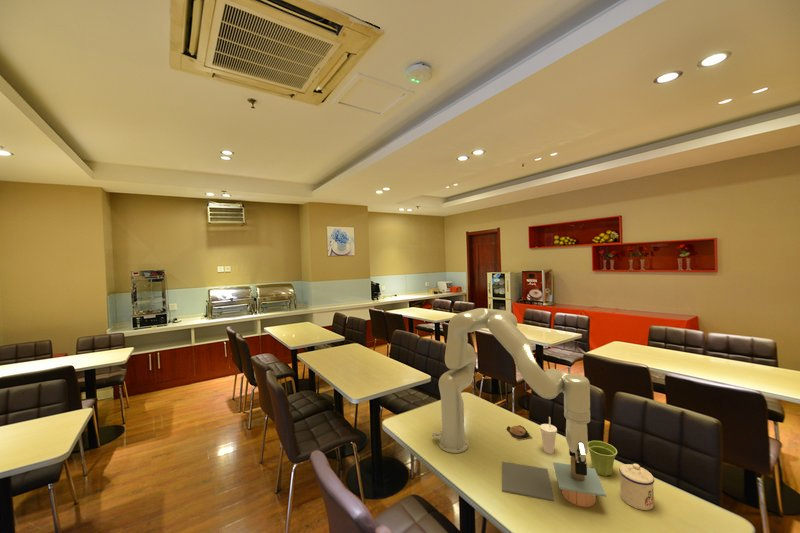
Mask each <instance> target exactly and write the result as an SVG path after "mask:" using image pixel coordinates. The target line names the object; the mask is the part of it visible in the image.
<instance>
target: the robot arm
mask: <svg viewBox="0 0 800 533" xmlns="http://www.w3.org/2000/svg"><path fill="white" fill-rule="evenodd" d="M482 329H488V330H489V332H490V333H491V335H493V337H495V339H496V340H497V341H498V342H499V343H500V344H501V346H502V347H503V348H504V349H505V350H506V351H507V352H508V353H509V354H510V355H511V357H512V358H513V361H514V364H515V365H516V368H517V370H518V372H519V374H520V376H521V377H522V379H523V380H524V381H525V383H527V385H528V386H529V387H530V388H531V390H533V392H535V394H537V395H538V396H539V397H541V398H542V399H545V400H552V399H556V397H557V396H559V394H560V393H563V411H564V412H563V416H564V418H565V419H566V422H565V441H566V444H567V446H568V448H569V449H568V451H569V452H568V454H569V456H570V457H571V456H576V461H575V473H576V474H579V475H585V476H586V475H587V467H588V463H587V457H586V455H588V454H589V449H588V442H589V440H588V437H589V435H588V424H589V423H591V395H590V394H591V388H590V386H591V383H590V380H589V379H588V377H586V376H584V375H581V374H575V373H569V372H566V371H563V370H560V369H557V368H548V369H547V370H545V371H544V370H543V369H542V368H541V366H540V365H539V364H538V362H537V361H536V358H535V357H534V354H533V346H532V345H533V344H532V342H531V341H530V339H529V338H528V337H527V336H526V335H525V334H524V332H522V331H521V330H520V329H519V328H518V318H517V317H516V315H515V314H513V312H512V311H509V310H504V309H496V308H495V309H493V308H485V307H479V308H475V309H470V310H466V311H463V312H459V313H457V314H454V315H453V316H452V317H451V318H450V320H449V322H448V325H447V339H446V344H445V345H446V346H445V354H444V363H445V366H446V367H447V368H448V369H449V370H448V371H446V372H444V373H443V374H442V375H440V377H439V380H438V389H439V394H440V404H441V406H440V407H441V431H434V430H433V431H432V433H431V434H432V437H433V439H434V440H438V447H439V448H440V449H441V450H442V451H445V452H447V453H451V454H460V453H463V452H466V451H467V450H468V448H469V440H468V439H467V438H465V437H466V436H465V403H464V399H463V396H462V392H463V391H464V390H465V389H466V388H468V387H469V386H471V384H472V382H473V379H474V375H475V369H476V368H475V367H476V360H477V356H476V355H477V354H476V351H475V348H474V347H473V346H472V345H471V344H470V343H468V342H469V337H468V333H473V332H476V331H479V330H482ZM578 456H579V458H578Z"/></svg>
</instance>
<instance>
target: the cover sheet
mask: <svg viewBox="0 0 800 533" xmlns="http://www.w3.org/2000/svg"><path fill="white" fill-rule="evenodd" d="M578 458H579V456H578ZM575 461H576V456H570V464H568V463H562V462H555V461H553V467H554V468H553V469H554V472H555V475H556V476H555V477H556V480H557V481H556V482H557V485H558V488H559V489H560V490H561V489H564V490H570V491H576V492H581V493H587V494H593V495H596V496H598V497H599V496H600V497H605V498H606V497H607V494H606V491H605V489H604V486H603V485H602V483H601V480H600V477H599V474H598V473H596V470H595V468H592V467H589V466H587V475H586V476H585V475H579V474H576V473H575Z"/></svg>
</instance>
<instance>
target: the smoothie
mask: <svg viewBox="0 0 800 533" xmlns="http://www.w3.org/2000/svg"><path fill="white" fill-rule="evenodd" d="M539 429H540V432H541V439H542V445H543V446H542V447H543V451H544V453H546V454H549V455H553V454H554V453H555V452H554V451H555V446H556V445H555V444H556V437H557V433H558V428H557V427H556V426H555V425H553V424H551V417H550V416H548V423H542V424H539Z"/></svg>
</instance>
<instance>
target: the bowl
mask: <svg viewBox="0 0 800 533" xmlns="http://www.w3.org/2000/svg"><path fill="white" fill-rule="evenodd" d="M560 490H561V494H562V496H563V497H564V499H566V501H568V502H569V503H572V504H574V505H576V506H578V507H584V508H589V507H592V506H594V505H595V503H596V502H597V498H596V497H597V495H593V494H587V493H581V492H576V491H570V490H564V489H560Z"/></svg>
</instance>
